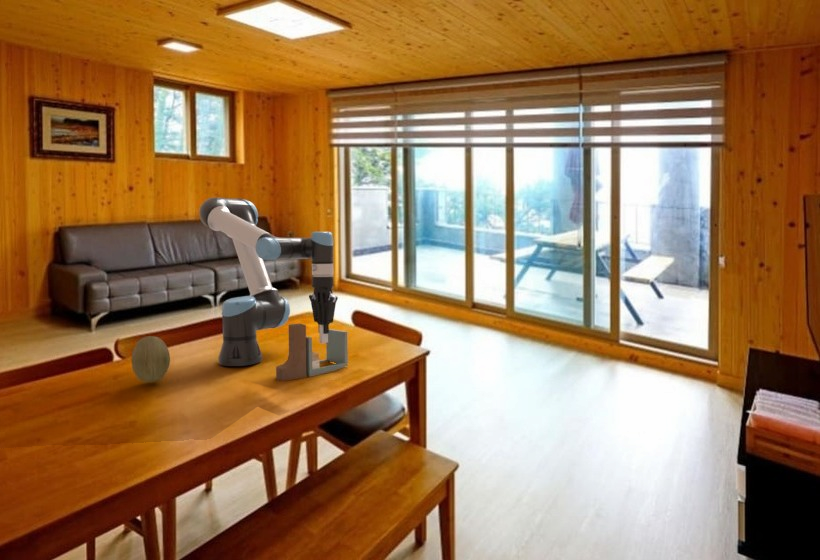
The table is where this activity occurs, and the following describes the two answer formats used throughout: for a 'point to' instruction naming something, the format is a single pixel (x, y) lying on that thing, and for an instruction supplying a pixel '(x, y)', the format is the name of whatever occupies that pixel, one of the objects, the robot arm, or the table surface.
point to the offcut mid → (315, 364)
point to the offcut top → (315, 356)
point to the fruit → (150, 359)
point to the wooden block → (294, 355)
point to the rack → (329, 353)
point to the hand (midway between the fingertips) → (323, 342)
